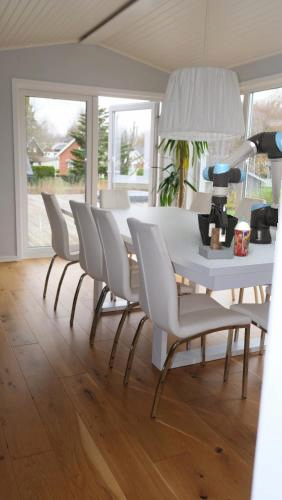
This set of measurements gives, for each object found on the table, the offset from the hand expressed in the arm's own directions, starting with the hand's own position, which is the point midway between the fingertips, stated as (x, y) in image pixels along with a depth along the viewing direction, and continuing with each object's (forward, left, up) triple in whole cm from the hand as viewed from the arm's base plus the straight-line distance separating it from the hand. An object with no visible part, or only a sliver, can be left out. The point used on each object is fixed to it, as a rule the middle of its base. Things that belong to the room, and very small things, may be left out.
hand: (216, 238), depth 221 cm
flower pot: (-11, -27, -9) cm, 31 cm away
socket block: (0, 0, -9) cm, 9 cm away
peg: (0, 0, -9) cm, 9 cm away
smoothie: (-14, -1, -9) cm, 17 cm away
